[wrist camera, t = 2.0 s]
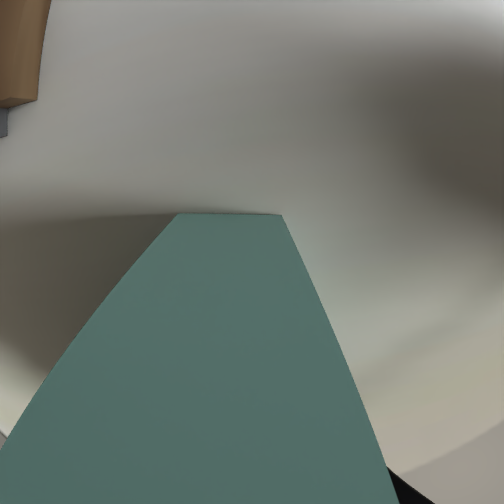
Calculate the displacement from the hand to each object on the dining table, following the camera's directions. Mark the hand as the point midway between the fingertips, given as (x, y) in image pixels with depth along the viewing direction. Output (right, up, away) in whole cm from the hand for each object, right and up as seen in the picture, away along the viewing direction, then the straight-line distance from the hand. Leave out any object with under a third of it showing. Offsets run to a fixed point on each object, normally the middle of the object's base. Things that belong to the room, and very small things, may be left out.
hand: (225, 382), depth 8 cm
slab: (0, +1, +2) cm, 3 cm away
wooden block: (-7, +14, -2) cm, 16 cm away
